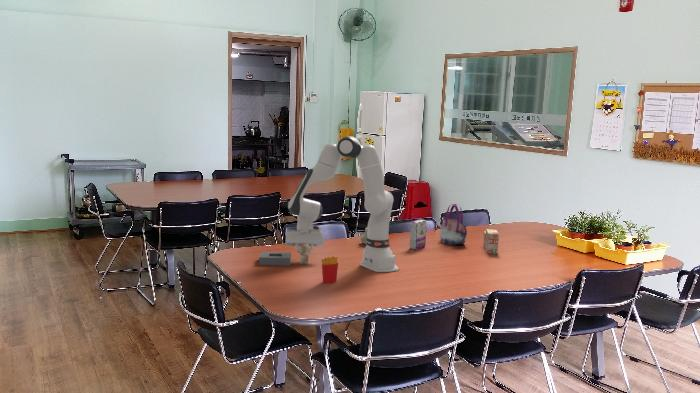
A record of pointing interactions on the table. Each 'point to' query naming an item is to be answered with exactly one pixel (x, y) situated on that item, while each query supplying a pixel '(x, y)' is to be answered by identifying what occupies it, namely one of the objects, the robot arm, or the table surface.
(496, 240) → the beige snack box
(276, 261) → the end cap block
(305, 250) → the tan tall block
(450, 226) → the handbag
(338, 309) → the table surface
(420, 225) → the candy bar box
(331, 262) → the french fries
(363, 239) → the air freshener
